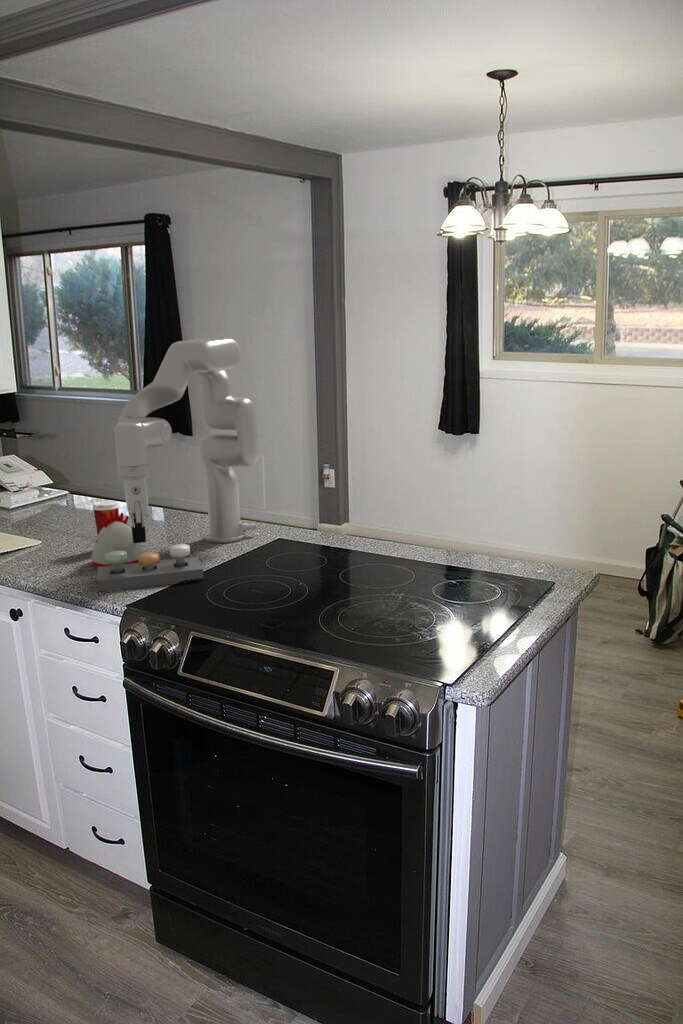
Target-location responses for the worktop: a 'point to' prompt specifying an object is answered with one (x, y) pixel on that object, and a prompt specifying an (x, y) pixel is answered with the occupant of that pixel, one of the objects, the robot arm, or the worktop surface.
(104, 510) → the paper cup
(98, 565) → the white rounded crested piece
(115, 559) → the button sage
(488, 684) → the worktop surface
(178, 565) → the button ivory
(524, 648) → the worktop surface
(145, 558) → the button terracotta
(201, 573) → the console
